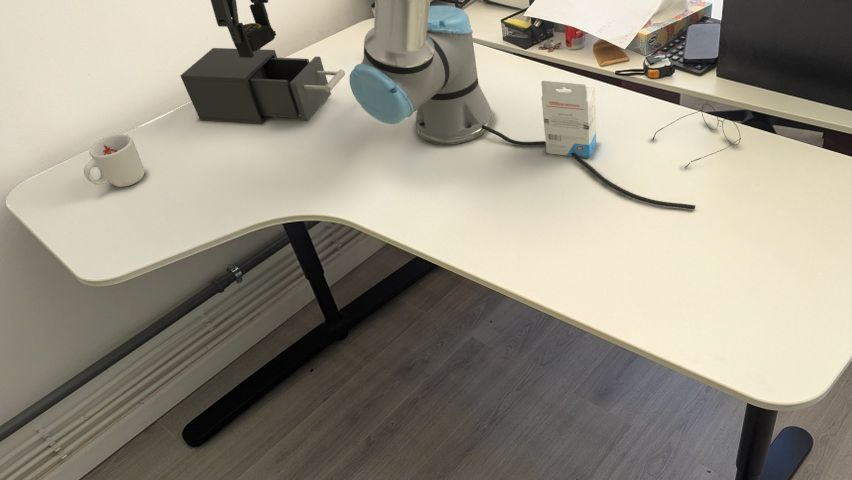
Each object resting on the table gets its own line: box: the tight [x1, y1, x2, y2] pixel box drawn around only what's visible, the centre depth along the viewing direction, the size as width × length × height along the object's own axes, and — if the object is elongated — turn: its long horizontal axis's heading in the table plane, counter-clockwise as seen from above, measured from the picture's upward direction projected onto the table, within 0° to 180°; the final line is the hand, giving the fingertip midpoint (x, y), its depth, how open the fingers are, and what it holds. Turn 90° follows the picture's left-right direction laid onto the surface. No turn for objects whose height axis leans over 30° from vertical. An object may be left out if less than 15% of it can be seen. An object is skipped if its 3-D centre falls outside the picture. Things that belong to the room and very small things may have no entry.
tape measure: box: [233, 22, 277, 52], centre depth 141 cm, size 7×7×4 cm
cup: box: [83, 133, 145, 188], centre depth 140 cm, size 11×8×8 cm
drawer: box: [248, 55, 346, 123], centre depth 153 cm, size 21×11×9 cm, turn 74°
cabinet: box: [180, 47, 278, 125], centre depth 157 cm, size 16×13×11 cm
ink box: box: [541, 80, 597, 159], centre depth 129 cm, size 9×5×15 cm, turn 68°
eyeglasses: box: [651, 103, 742, 169], centre depth 129 cm, size 11×13×5 cm
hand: (257, 46), depth 141 cm, fingers closed on tape measure, 7 cm apart
